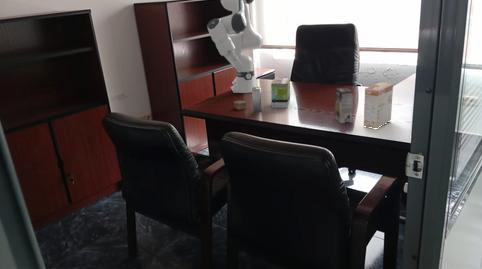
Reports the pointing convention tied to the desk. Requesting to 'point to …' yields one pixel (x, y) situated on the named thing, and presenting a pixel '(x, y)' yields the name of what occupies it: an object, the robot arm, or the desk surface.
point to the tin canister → (256, 99)
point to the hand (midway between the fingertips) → (237, 68)
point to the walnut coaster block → (240, 105)
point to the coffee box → (343, 105)
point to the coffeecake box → (378, 104)
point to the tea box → (280, 92)
